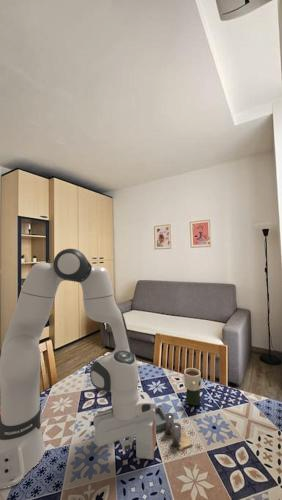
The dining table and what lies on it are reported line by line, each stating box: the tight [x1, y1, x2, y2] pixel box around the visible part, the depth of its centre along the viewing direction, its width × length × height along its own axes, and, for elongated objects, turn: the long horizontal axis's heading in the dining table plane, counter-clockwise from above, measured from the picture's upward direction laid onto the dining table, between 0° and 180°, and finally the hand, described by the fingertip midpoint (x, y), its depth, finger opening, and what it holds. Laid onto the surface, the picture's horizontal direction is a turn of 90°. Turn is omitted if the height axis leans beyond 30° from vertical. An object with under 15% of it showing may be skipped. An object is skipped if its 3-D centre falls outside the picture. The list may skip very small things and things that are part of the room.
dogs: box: [165, 412, 193, 451], centre depth 75 cm, size 6×10×6 cm, turn 20°
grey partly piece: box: [153, 404, 167, 434], centre depth 82 cm, size 9×9×2 cm
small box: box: [135, 409, 157, 461], centre depth 71 cm, size 8×6×10 cm
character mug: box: [183, 367, 202, 406], centre depth 93 cm, size 11×7×13 cm, turn 173°
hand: (126, 448), depth 69 cm, fingers closed
